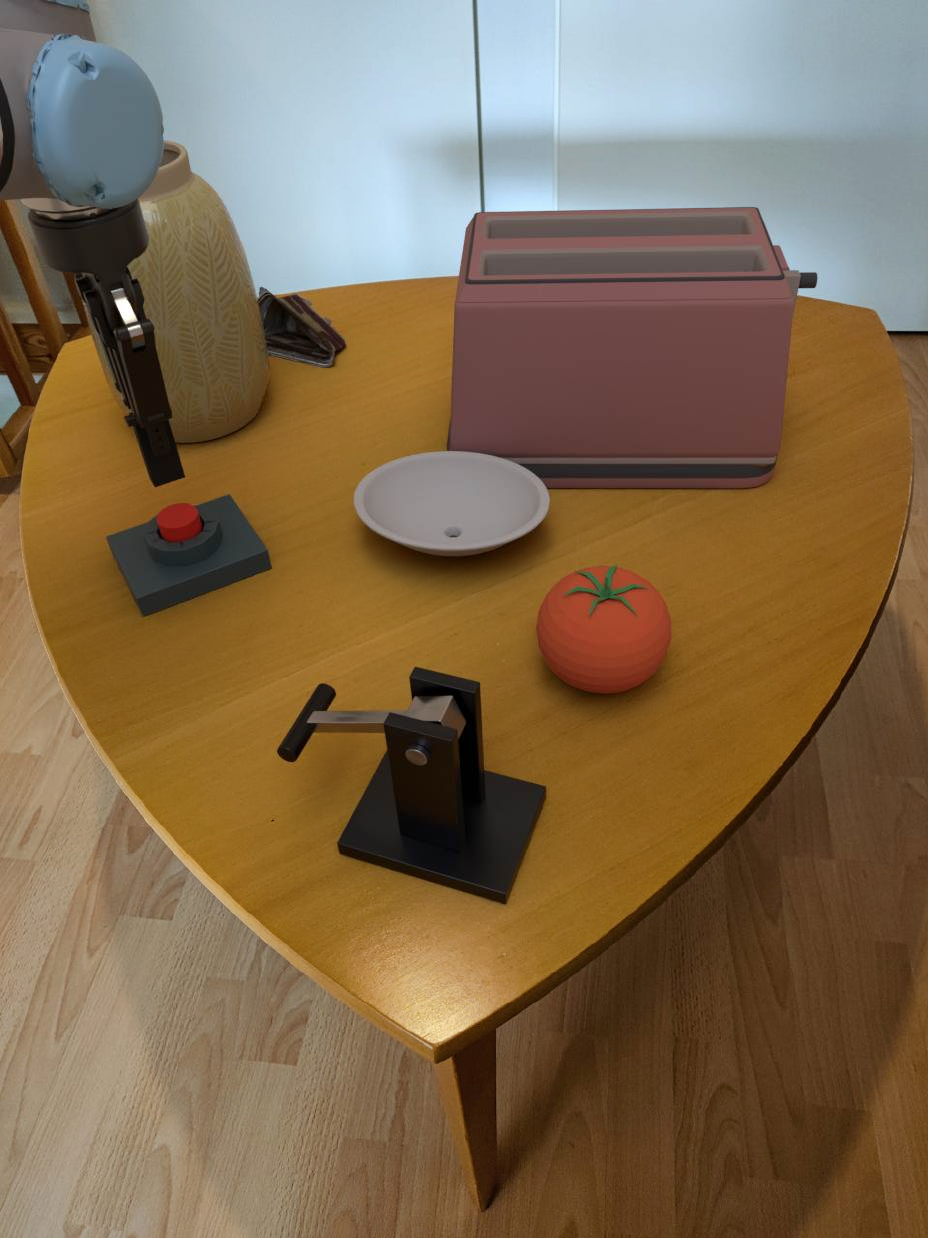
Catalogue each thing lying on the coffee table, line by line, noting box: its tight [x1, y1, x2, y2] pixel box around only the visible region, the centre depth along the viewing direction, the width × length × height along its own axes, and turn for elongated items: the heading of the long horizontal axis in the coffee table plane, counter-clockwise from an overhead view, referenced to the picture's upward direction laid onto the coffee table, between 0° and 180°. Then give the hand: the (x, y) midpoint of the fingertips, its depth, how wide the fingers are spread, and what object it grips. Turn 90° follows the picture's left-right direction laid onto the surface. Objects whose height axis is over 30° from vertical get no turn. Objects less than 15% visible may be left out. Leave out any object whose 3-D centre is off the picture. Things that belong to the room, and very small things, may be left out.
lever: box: [276, 682, 466, 763], centre depth 64 cm, size 12×6×2 cm, turn 70°
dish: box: [353, 450, 551, 557], centre depth 90 cm, size 18×14×5 cm
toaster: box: [446, 206, 818, 489], centre depth 96 cm, size 19×34×20 cm, turn 86°
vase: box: [81, 139, 270, 444], centre depth 101 cm, size 17×17×27 cm
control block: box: [105, 493, 273, 617], centre depth 90 cm, size 12×10×4 cm
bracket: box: [336, 666, 547, 905], centre depth 65 cm, size 12×9×13 cm
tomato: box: [535, 564, 672, 694], centre depth 76 cm, size 10×10×10 cm
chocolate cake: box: [257, 286, 347, 368], centre depth 119 cm, size 10×7×12 cm
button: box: [156, 502, 202, 542], centre depth 88 cm, size 4×4×2 cm
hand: (167, 477), depth 85 cm, fingers closed
